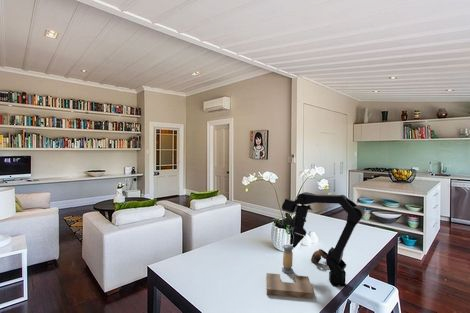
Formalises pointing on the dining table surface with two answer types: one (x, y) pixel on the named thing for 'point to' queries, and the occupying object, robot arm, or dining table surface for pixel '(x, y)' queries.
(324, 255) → the pottery mug
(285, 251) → the bobbin
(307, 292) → the notched board
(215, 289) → the dining table surface
